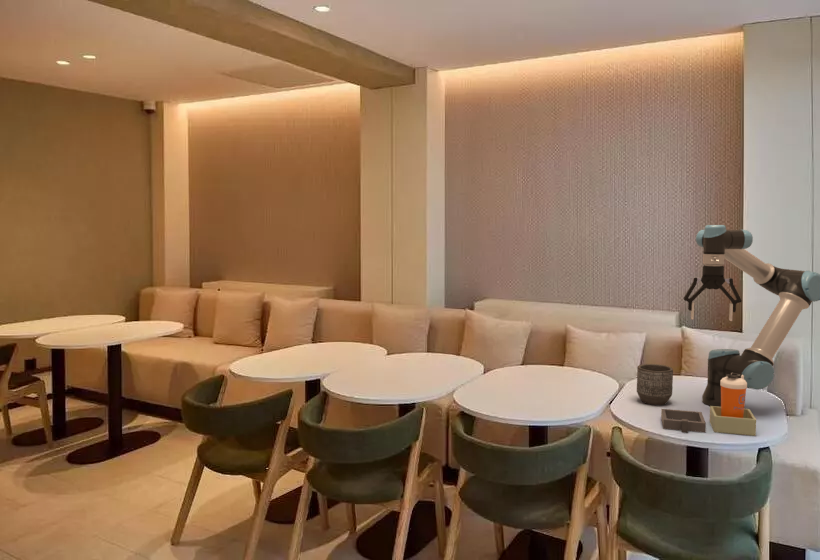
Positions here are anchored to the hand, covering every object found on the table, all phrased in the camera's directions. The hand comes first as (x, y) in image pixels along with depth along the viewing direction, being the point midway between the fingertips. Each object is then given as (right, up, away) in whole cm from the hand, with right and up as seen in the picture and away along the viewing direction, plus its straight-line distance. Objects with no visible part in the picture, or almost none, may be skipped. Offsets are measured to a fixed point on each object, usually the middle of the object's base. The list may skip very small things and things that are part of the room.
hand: (711, 319), depth 249 cm
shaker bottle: (+3, -40, -10) cm, 41 cm away
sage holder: (+3, -40, -10) cm, 41 cm away
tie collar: (-14, -40, -7) cm, 42 cm away
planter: (-13, -37, +25) cm, 46 cm away
